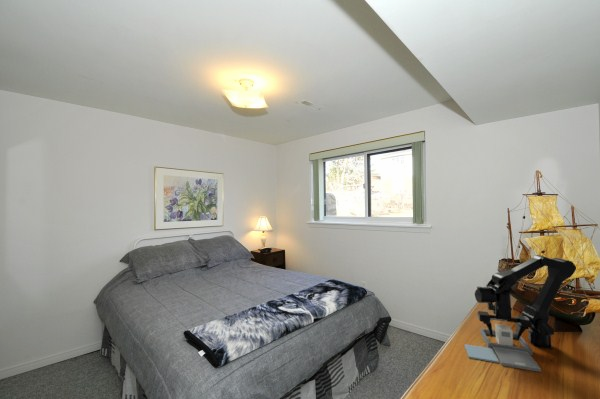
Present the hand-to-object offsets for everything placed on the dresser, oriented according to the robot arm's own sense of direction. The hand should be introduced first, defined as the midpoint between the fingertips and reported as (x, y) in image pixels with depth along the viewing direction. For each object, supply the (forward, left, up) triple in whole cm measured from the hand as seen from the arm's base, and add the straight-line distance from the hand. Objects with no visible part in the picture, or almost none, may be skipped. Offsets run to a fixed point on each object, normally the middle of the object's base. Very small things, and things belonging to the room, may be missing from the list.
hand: (504, 338), depth 118 cm
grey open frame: (0, +6, -2) cm, 6 cm away
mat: (+12, +14, -2) cm, 18 cm away
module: (0, 0, -2) cm, 2 cm away
